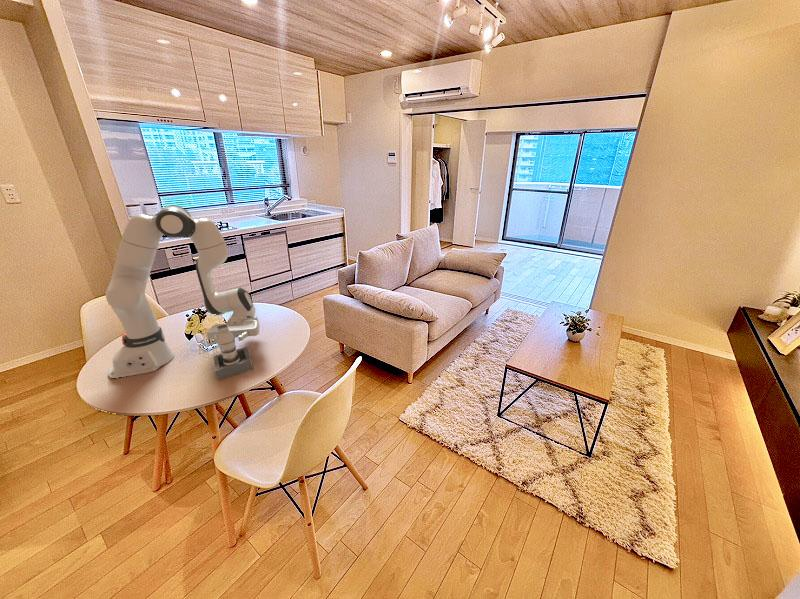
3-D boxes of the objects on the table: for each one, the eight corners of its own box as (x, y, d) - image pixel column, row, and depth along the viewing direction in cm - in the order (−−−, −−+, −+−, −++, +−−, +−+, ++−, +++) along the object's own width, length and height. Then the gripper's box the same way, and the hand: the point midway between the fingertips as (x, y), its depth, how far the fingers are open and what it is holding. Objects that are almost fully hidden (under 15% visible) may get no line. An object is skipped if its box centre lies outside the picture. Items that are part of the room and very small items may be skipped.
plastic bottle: (236, 374, 129) (224, 331, 121) (221, 372, 130) (208, 330, 122) (246, 365, 135) (235, 323, 127) (231, 363, 136) (220, 322, 128)
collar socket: (218, 380, 126) (215, 370, 124) (215, 364, 135) (213, 356, 133) (253, 369, 132) (251, 360, 130) (248, 355, 141) (246, 346, 140)
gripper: (211, 319, 139) (198, 336, 127) (260, 315, 142) (252, 331, 130) (215, 332, 142) (202, 349, 129) (263, 328, 145) (255, 344, 132)
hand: (228, 340), depth 129 cm, fingers open, 8 cm apart
